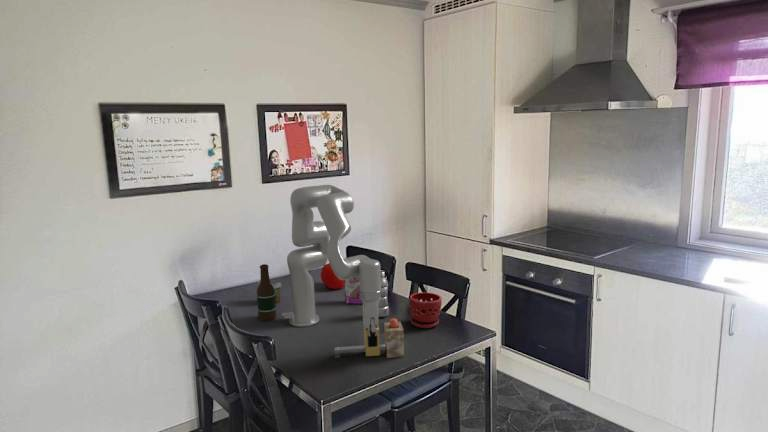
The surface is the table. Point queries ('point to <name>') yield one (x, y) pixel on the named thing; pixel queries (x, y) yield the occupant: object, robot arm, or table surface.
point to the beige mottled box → (394, 340)
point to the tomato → (331, 278)
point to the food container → (277, 290)
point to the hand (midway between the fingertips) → (371, 342)
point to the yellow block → (371, 350)
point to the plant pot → (425, 309)
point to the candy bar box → (352, 291)
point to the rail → (356, 349)
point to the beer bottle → (266, 296)
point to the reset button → (393, 323)
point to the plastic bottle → (383, 297)
